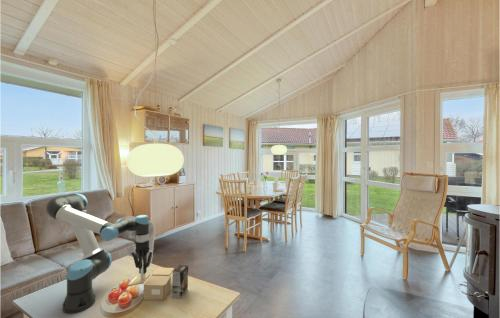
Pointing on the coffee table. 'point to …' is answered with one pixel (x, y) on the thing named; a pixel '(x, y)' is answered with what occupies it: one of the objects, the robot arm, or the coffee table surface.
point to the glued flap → (138, 280)
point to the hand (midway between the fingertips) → (143, 278)
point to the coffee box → (180, 281)
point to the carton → (158, 284)
